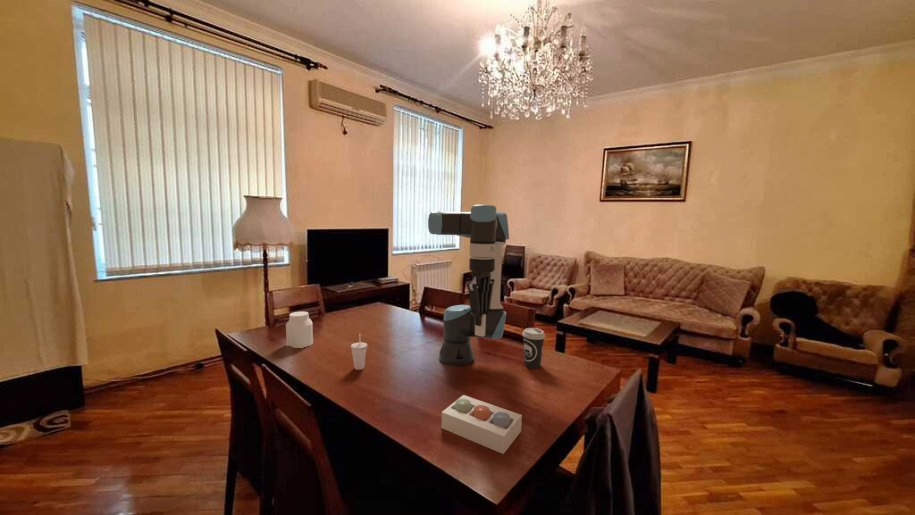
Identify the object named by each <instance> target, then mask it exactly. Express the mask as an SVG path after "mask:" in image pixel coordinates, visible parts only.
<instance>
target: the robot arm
mask: <svg viewBox="0 0 915 515" xmlns="http://www.w3.org/2000/svg"><path fill="white" fill-rule="evenodd" d="M427 229H428V232H429V233H430V234H431V235H437V236H457V237H463V238H467V239H470V240H469V253H468V254H469V260H468V261H469V264H468V267H469V271H471V272H472V275H471V276H472V277H471V282H469V283H467V285H466V287H467V290H468V296H469V305H467V304H457V305H452V306H449V307H447V308H446V309H444V314H443V342H442V343H441V344H442V345H441V348H440V351H439V354H438V355H439V356H438V357H439V360H440V362H441V363H444V364H445V365H450V366H465V365H468V364H471V363H473V361H474V359H475V358H474V357H475V353H474V351H473V348H472V344H471V338H482V339H490V340H492V339H495V340H496V339H501V338H502V337H503V334H504V330H505V325H506V318H507V312H506V311H505V310H504V306H503V305H502V304H501V284H502V283H501V280H502V255H503V254H502V252H503V247H504V246H505V245H506V244H507V243H506V241H507V240H510V233H509V221H508V215H507V213H506V212H503V211H497V207H496V205H494V204H492V205H491V204H474V205H472V206H471V208H470V211H460V212H459V211H440V210H439V211H431V212H430V213H429V214H428V218H427Z"/></svg>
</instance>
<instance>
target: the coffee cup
mask: <svg viewBox="0 0 915 515" xmlns="http://www.w3.org/2000/svg"><path fill="white" fill-rule="evenodd" d="M521 336H522V337H523V338H522V339H523V356H524V357H523V358H524V366H525V367H527V368H530V369H538V368H540V367H541V364H542V356H543V350H544V349H543V348H544V343H545V338H546V333H545V332H544V330H543V329H542V328H536V327H527V328H525V329H524V330H523V332H522V334H521Z"/></svg>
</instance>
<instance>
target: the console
mask: <svg viewBox="0 0 915 515" xmlns="http://www.w3.org/2000/svg"><path fill="white" fill-rule="evenodd" d="M458 399H467V400H469V401H470V402H471V410H470V411H469V412H468V413H467V414H465V413H462V412H459V411H457V410H455V403H456V401H457V400H458ZM458 399H456V400H455V401H454V402H453V403H451V404H450V405H449V406H448V407H447V408H445V409H444V410H442V412H441V429H442V430H445V431H448V432H449V433H450V432H451V433H452V434H455V435H456V436H457V435H458V436H460V437H462V438H464V439H466V440H469V441H472V442H473V443H476V444H479V445H481V446H483V447H486V448H487V449H491V450H492V451H495V452H497V453H500V454H502V455H504V454H505V453H506V451H507V450H508V449H509V447H510V446H511V445H512V444H513V442H514V441H515V440H516V439H517V437H518V436H519V435H520V434H521V432H522V420H523V414H520V413H517V412H514V411H511V410H509V409H505V408H504V407H500V406H497V405H494V404H491V403H488V402H485V401H482V400H479V399H476V398H473V397H471V396H467V395H465V394H463V395H462V396H460V397H459V398H458ZM478 405H484V406H487V407H488V408H489V409H490V417H489V418H488V419H487V420H486V421H483V420H481V419H478V418H475V417H474V407H475V406H478ZM497 412H504V413H507V414H508V415H509V416H510V426H509V427H508V428H507V429H505V428H502V427H499V426H497V425H494V424H493V418H494V414H495V413H497Z"/></svg>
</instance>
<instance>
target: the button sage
mask: <svg viewBox="0 0 915 515" xmlns="http://www.w3.org/2000/svg"><path fill="white" fill-rule="evenodd" d="M456 400H457V401H456ZM456 400H455V401H456V403H455V410H457V411H459V412H462V413H465V414H467V413H468V412H469V411H470V410H471V402H470V401H469V400H467V399H459V398H457V399H456Z"/></svg>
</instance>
